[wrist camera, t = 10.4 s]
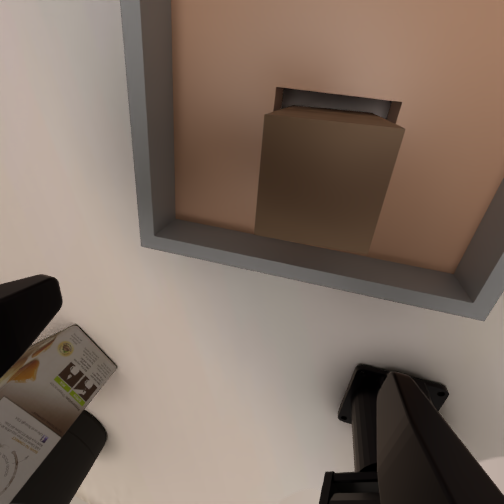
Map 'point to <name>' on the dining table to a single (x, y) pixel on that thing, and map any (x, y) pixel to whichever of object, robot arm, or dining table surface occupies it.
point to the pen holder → (65, 464)
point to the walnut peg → (324, 176)
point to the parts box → (335, 82)
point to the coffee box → (45, 401)
